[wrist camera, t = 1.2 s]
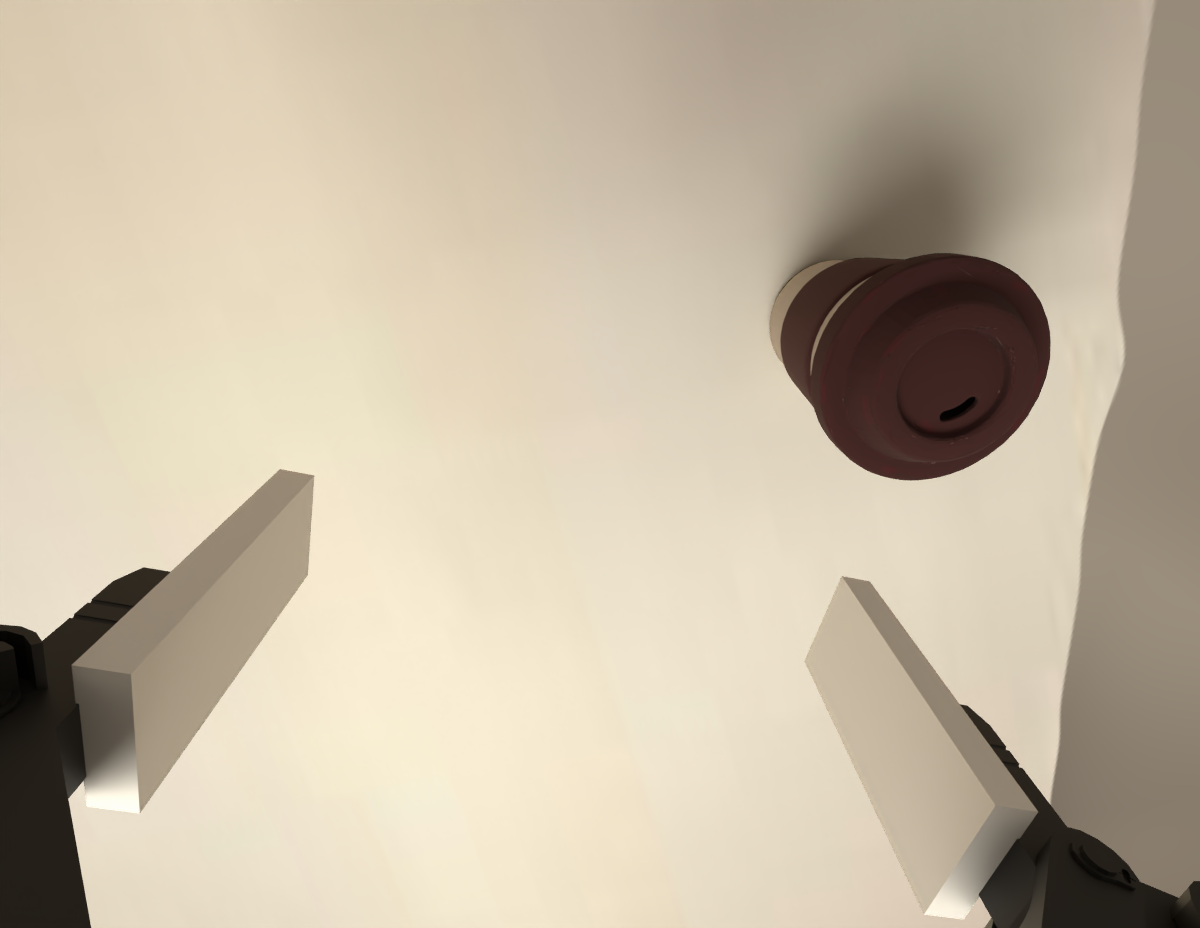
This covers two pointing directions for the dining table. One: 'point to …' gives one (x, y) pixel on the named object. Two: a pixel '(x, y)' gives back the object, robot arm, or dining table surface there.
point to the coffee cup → (913, 357)
